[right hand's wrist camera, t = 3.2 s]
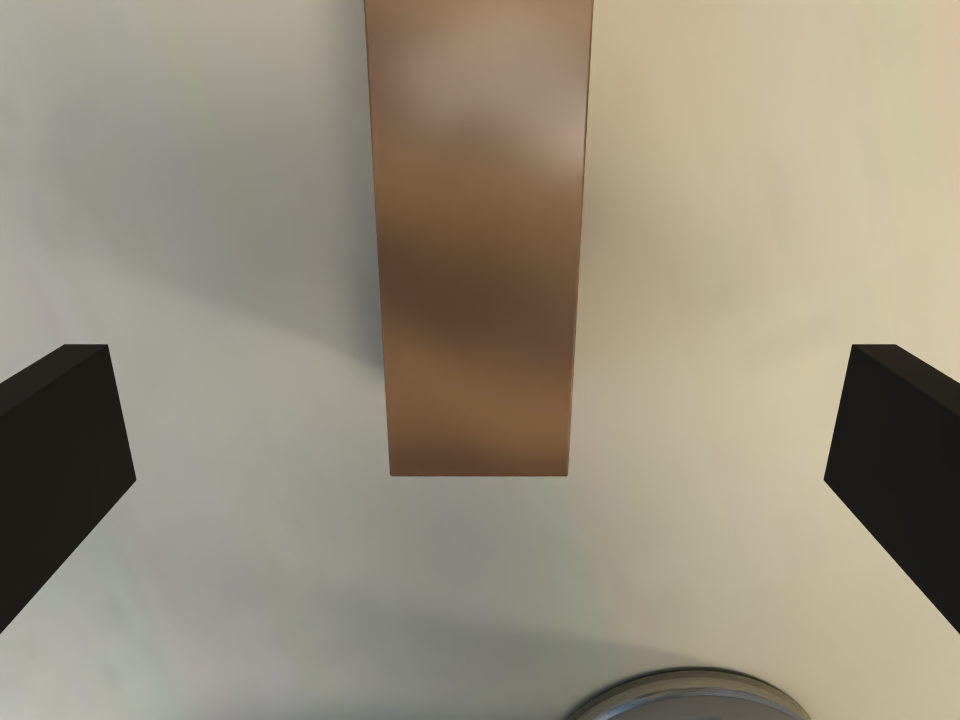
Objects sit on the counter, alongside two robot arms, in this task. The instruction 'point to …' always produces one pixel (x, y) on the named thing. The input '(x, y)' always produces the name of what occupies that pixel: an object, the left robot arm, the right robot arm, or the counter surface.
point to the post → (478, 227)
